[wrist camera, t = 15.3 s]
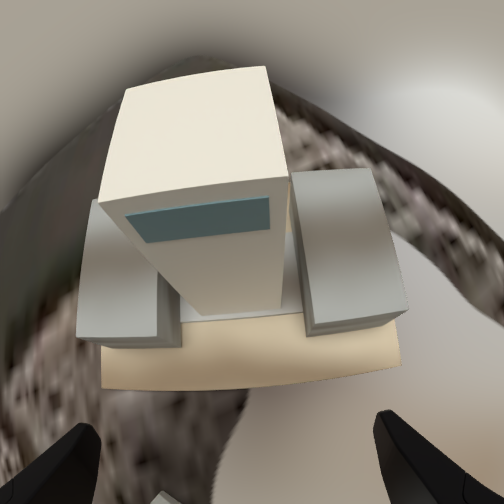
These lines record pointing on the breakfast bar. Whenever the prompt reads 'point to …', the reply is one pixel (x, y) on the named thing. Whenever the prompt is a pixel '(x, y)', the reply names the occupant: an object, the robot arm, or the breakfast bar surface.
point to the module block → (203, 187)
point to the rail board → (258, 322)
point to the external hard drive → (164, 499)
